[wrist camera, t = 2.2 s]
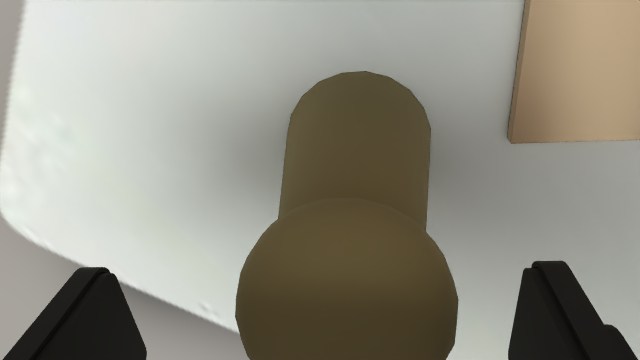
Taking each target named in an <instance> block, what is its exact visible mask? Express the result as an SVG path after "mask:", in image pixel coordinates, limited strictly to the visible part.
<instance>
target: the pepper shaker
mask: <svg viewBox="0 0 640 360" xmlns="http://www.w3.org/2000/svg"><path fill="white" fill-rule="evenodd" d="M430 136H431V128H430V125H429V122H428V119H427V116H426V113H425V110H424V107H423V106H422V105H421V104H420V102H419V101H418V100H417V99H416V97H415V96H414V95H413V94H412V92H411V91H410V90H409V89H407V88H406V87H404V86H403V85H401V84H399V83H398V82H396V81H395V80H393V79H392V78H390V77H387V76H383V75H379V74H375V73H371V72H367V71H363V72H348V73H340V74H338V75H335V76H333V77H330V78H328V79H325V80H323V81H320V82H319V83H317V84H316V85H315V86H314V87H313V88H311V89H310V90H309V91H308V92H307V93H305V94H304V95H303V96H302V97H301V99H300V101H299V102H298V104H297V106H296V107H295V109H294V111H293V113H292V114H291V118H290V123H289V128H288V133H287V141H286V151H285V160H284V169H283V179H282V188H281V198H280V207H279V217H278V220H277V221H275V222H274V223H272V224H271V226H270V227H269V228H268V229H267V230H266V231H265V232H264V233H263V234H262V236H261V237H260V239H259V240H258V242H257V243H256V245H255V246H254V248H253V249H252V251H251V252H250V254H249V255H248V257H247V259H246V261H245V263H244V266H243V268H242V271H241V273H240V278H239V284H238V290H237V296H236V311H235V317H236V321H237V325H238V329H239V332H240V336H241V340H242V343H243V345H244V348H245V350H246V353H247V356H248V357H249V359H250V360H446V358H447V357H448V355H449V353H450V351H451V350H452V348H453V346H454V344H455V335H456V326H457V313H458V296H457V292H456V288H455V284H454V281H453V278H452V275H451V273H450V270H449V267H448V265H447V262H446V259H445V257H444V255H443V253H442V252H441V250H440V249H439V247H438V246H437V244H436V243H435V242H434V240H433V239H432V238H431V237H430V236H429V235H428V234H427V233H426V221H427V201H428V181H429V162H430Z"/></svg>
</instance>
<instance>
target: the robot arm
mask: <svg viewBox="0 0 640 360" xmlns="http://www.w3.org/2000/svg"><path fill="white" fill-rule="evenodd" d="M146 355H147V351H146V347H145V344H144V342H143V340H142V337H141V335H140V332H139V330H138V328H137V325H136V323H135V320H134V318H133V316H132V313H131V311H130V309H129V306H128V304H127V301H126V299H125V296H124V294H123V292H122V289H121V287H120V284H119V282H118V280H117V277H116V276H115V275H114V274H113V273H110V271H109V270H108V269H107V268H105V267H85V268H79V269H78V270H77V271H75V272H74V274H73V275H72V276H71V277H70V278H69V280H68V281H67V282H66V283H65V284H64V286H63V287H62V288H61V289H60V291H59V292H58V293H57V294H56V295H55V297H54V298H53V299H52V300H51V302H50V303H49V304H48V305H47V306H46V308H45V309H44V310H43V311H42V312H41V314H40V315H39V316H38V317H37V319H36V320H35V321H34V322H33V323H32V325H31V326H30V327H29V328H28V330H27V331H26V332H25V333H24V334H23V335H22V337H21V338H20V339H19V340H18V342H17V343H16V344H15V345H14V346H13V348H12V349H11V350H10V351H9V353H8V354H7V355H6V356H5V357H4V359H3V360H146ZM508 359H509V360H638V359H637V357H636V356H635V354H634V353H633V351H632V350H631V348H630V346H629V345H628V343H627V342H626V340H625V339H624V337H623V336H622V334H621V333H620V332H619V331H618V329H617V328H615V327H614V326H612V325H604V324H603V322H602V320H601V319H600V317H599V316H598V314H597V312H596V311H595V309H594V307H593V306H592V304H591V302H590V301H589V299H588V298H587V296H586V294H585V293H584V291H583V289H582V288H581V286H580V284H579V283H578V281H577V280H576V278H575V276H574V275H573V273H572V271H571V270H570V268H569V266H568V265H567V264H566V263H565V262H564V261H535V262H534V263H533V264H532V267H531V268H525V269H524V271H523V275H522V280H521V286H520V291H519V296H518V302H517V307H516V312H515V318H514V323H513V329H512V334H511V339H510V345H509V350H508Z"/></svg>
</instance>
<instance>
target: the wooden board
mask: <svg viewBox="0 0 640 360" xmlns="http://www.w3.org/2000/svg"><path fill="white" fill-rule="evenodd" d="M507 138H508V140H509V141H510V143H511V144H517V143H549V142H582V141H614V140H640V0H525V7H524V15H523V22H522V30H521V37H520V45H519V52H518V60H517V67H516V75H515V82H514V90H513V97H512V105H511V112H510V120H509V127H508V135H507Z"/></svg>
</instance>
